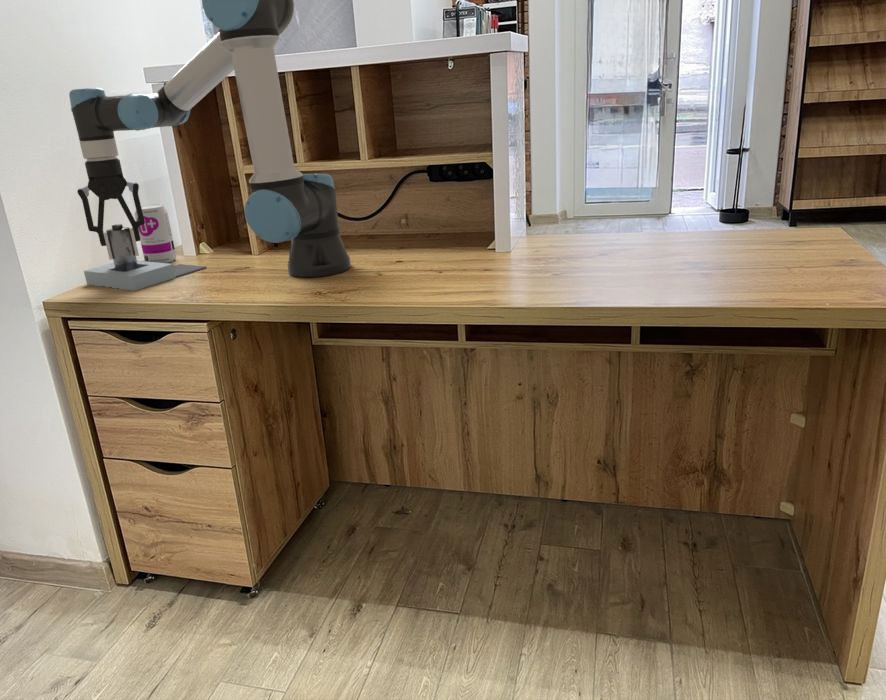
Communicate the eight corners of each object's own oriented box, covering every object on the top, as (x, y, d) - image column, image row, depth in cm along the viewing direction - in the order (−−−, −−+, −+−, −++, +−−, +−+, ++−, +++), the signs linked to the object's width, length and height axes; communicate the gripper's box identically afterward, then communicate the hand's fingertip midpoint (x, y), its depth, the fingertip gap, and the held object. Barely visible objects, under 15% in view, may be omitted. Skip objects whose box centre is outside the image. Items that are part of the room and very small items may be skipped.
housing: (175, 277, 174) (172, 264, 172) (134, 290, 164) (131, 276, 163) (128, 272, 182) (125, 259, 181) (87, 284, 173) (83, 270, 172)
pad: (206, 268, 182) (206, 266, 182) (175, 277, 174) (175, 276, 174) (180, 265, 186) (180, 264, 186) (149, 274, 178) (148, 273, 178)
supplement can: (166, 265, 188) (154, 209, 183) (139, 265, 190) (126, 210, 185) (182, 257, 196) (171, 203, 191) (156, 258, 198) (145, 204, 192)
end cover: (144, 275, 174) (133, 223, 169) (126, 280, 170) (114, 227, 165) (131, 274, 177) (119, 222, 172) (113, 279, 172) (100, 226, 168)
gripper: (142, 154, 170) (162, 248, 178) (59, 162, 163) (83, 259, 171) (144, 155, 163) (164, 253, 172) (57, 164, 157) (83, 265, 165)
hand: (124, 256), depth 171 cm, fingers closed on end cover, 5 cm apart
